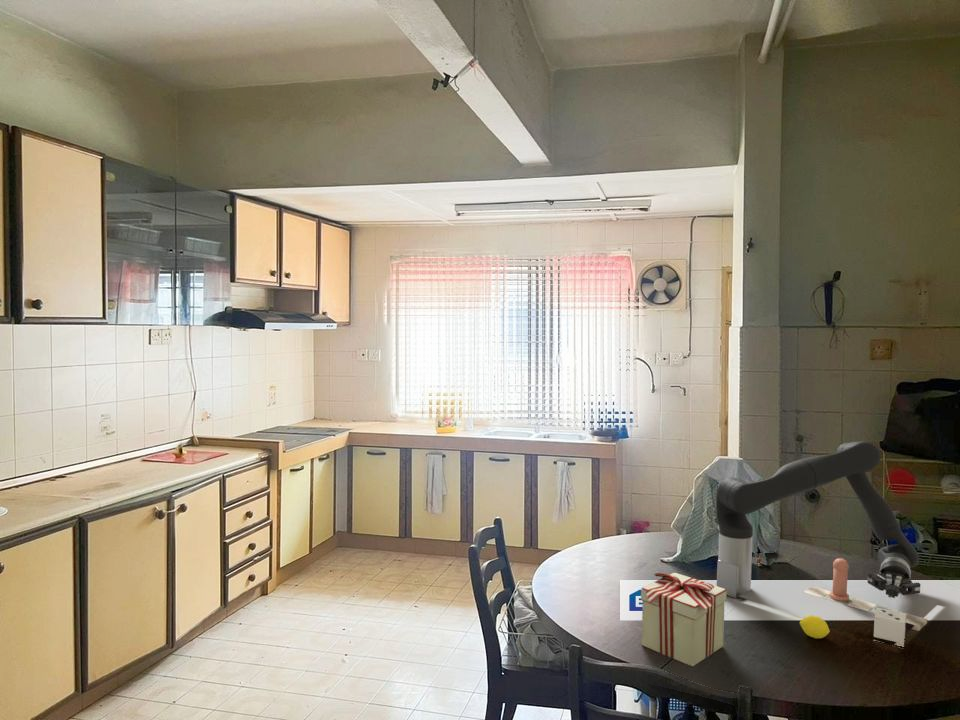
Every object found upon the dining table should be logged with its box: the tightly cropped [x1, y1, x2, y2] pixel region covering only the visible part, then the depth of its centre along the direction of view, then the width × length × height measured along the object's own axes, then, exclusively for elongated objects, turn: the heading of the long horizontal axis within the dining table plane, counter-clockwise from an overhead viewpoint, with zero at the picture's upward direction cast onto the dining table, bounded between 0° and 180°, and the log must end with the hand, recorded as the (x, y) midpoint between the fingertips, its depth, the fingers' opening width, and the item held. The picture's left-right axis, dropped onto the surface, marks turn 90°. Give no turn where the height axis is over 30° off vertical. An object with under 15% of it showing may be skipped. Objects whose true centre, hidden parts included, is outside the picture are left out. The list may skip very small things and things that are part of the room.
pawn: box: [829, 557, 850, 602], centre depth 203 cm, size 5×5×12 cm
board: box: [803, 586, 928, 632], centre depth 199 cm, size 7×30×1 cm, turn 43°
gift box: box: [640, 572, 727, 667], centre depth 174 cm, size 17×18×17 cm
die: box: [872, 608, 907, 647], centre depth 181 cm, size 6×6×7 cm
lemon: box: [799, 615, 831, 639], centre depth 182 cm, size 7×5×5 cm
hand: (891, 593), depth 186 cm, fingers closed
